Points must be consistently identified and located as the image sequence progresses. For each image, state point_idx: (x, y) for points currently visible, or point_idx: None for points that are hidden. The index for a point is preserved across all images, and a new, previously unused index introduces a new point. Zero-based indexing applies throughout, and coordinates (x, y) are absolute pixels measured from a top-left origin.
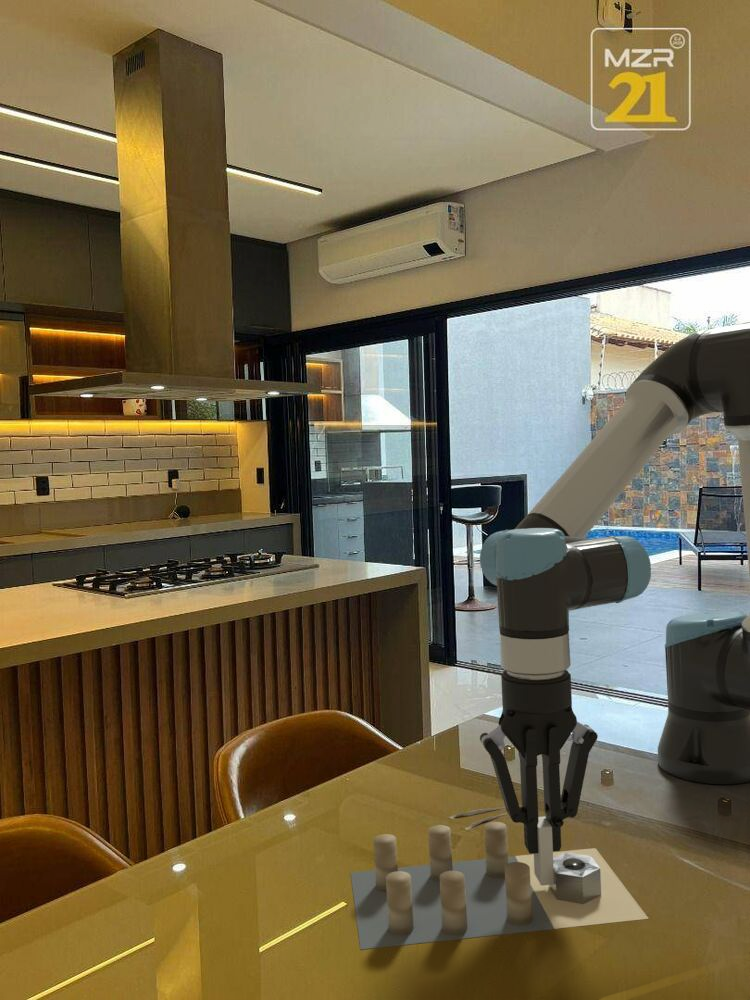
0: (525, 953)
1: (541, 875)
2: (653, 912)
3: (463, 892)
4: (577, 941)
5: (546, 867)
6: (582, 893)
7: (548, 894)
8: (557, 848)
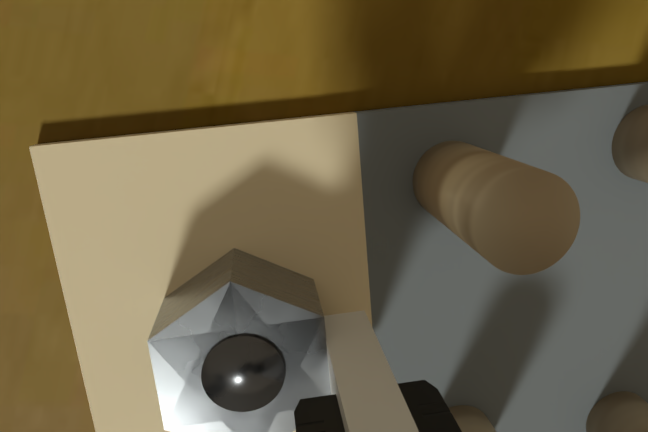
0: (462, 17)
1: (368, 327)
2: (7, 213)
3: None
4: (291, 67)
5: (354, 343)
6: (234, 260)
7: (333, 308)
8: (309, 405)
